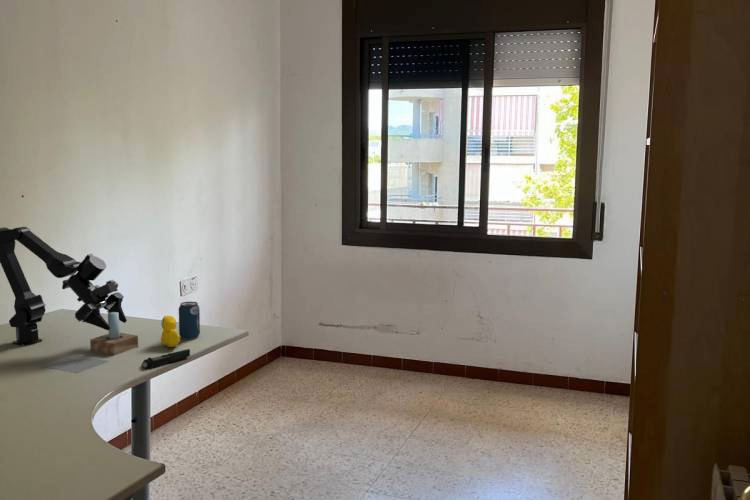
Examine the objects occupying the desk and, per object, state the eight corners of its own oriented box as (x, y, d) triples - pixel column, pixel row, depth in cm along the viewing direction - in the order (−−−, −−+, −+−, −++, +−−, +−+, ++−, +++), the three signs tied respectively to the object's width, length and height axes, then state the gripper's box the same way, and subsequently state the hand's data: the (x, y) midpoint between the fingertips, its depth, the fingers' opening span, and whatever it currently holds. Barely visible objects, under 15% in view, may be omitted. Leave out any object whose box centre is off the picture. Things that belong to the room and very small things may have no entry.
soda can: (202, 338, 218) (202, 304, 216) (182, 341, 214) (182, 306, 212) (196, 333, 223) (195, 300, 221) (176, 336, 219) (175, 302, 218)
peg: (108, 351, 201) (106, 314, 200) (111, 348, 204) (109, 312, 203) (118, 351, 202) (116, 314, 200) (121, 348, 205) (119, 312, 203)
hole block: (90, 351, 200) (90, 339, 200) (114, 343, 210) (114, 331, 209) (114, 356, 197) (114, 343, 196) (138, 347, 206) (137, 335, 205)
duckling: (157, 342, 211) (156, 313, 210) (173, 340, 214) (172, 311, 213) (166, 351, 202) (165, 321, 201) (183, 349, 205) (182, 319, 204)
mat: (41, 367, 185) (41, 366, 185) (75, 355, 196) (75, 354, 196) (77, 374, 180) (76, 373, 180) (109, 362, 191) (109, 361, 191)
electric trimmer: (193, 359, 196) (192, 349, 196) (146, 371, 185) (146, 360, 184) (186, 357, 199) (186, 347, 198) (140, 368, 187) (140, 357, 187)
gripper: (81, 278, 191) (116, 316, 191) (117, 268, 209) (148, 302, 209) (59, 302, 193) (94, 339, 193) (96, 290, 212) (128, 324, 211)
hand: (117, 325), depth 202 cm, fingers open, 9 cm apart
